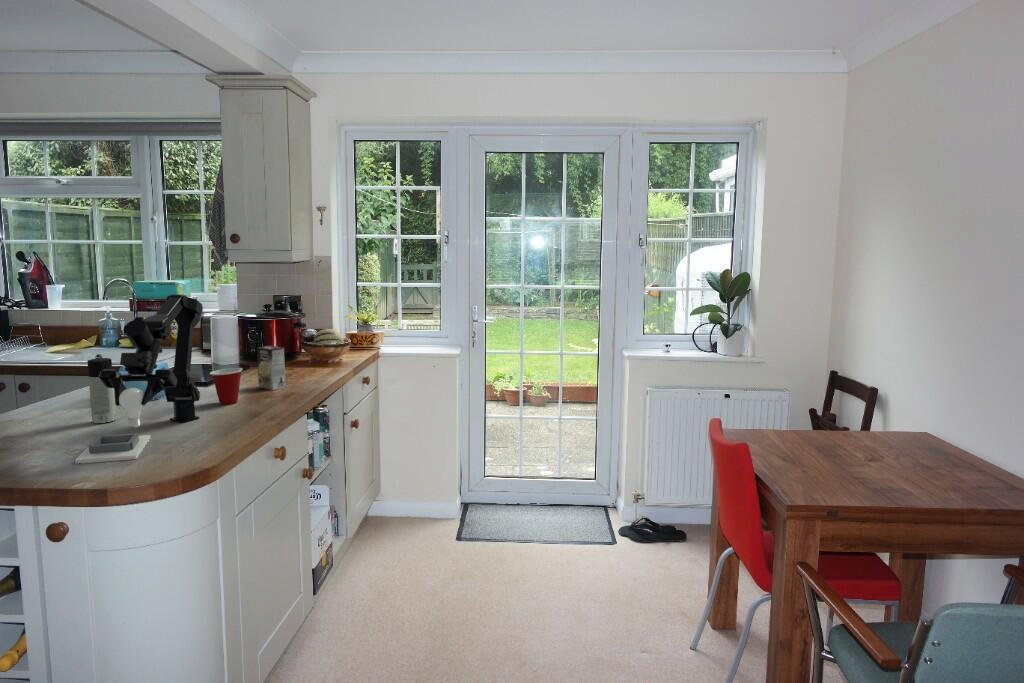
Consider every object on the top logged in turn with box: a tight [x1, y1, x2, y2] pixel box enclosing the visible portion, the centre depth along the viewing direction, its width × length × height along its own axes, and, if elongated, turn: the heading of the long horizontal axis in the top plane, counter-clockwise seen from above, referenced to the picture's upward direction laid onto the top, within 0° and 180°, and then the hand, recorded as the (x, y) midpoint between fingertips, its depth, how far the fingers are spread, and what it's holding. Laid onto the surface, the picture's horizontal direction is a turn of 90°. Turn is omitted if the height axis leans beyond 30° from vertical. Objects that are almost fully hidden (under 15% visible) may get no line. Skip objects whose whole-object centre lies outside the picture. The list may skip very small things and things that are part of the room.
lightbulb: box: [119, 388, 144, 429], centre depth 184 cm, size 6×6×11 cm
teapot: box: [114, 361, 170, 401], centre depth 249 cm, size 19×19×14 cm
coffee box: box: [256, 345, 286, 391], centre depth 267 cm, size 9×6×16 cm
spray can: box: [86, 357, 117, 424], centre depth 214 cm, size 7×7×20 cm
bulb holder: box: [74, 432, 152, 465], centre depth 186 cm, size 20×14×3 cm
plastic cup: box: [209, 367, 243, 406], centre depth 241 cm, size 11×11×12 cm
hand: (130, 404), depth 183 cm, fingers closed on lightbulb, 6 cm apart
